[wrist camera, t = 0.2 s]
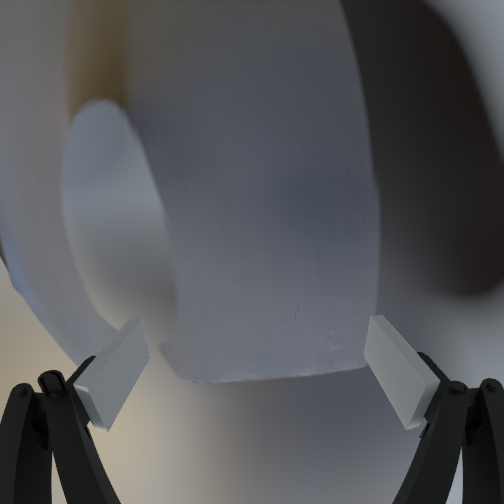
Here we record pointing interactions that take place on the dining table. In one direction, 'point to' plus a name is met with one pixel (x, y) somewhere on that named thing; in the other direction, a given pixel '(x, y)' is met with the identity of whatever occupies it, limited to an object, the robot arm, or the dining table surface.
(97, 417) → the robot arm
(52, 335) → the dining table surface
